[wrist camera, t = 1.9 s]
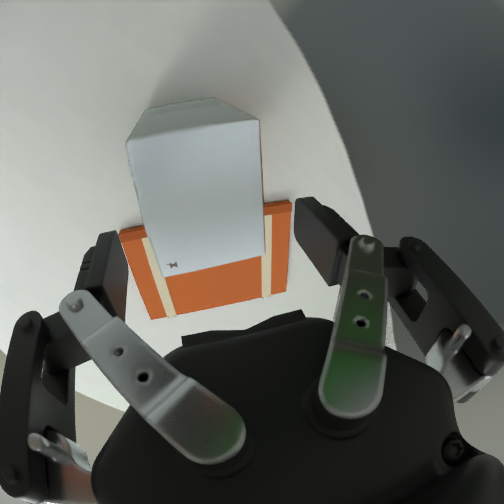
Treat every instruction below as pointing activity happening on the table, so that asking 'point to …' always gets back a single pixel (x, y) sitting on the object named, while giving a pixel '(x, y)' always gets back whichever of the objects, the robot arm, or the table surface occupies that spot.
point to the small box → (199, 184)
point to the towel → (212, 271)
